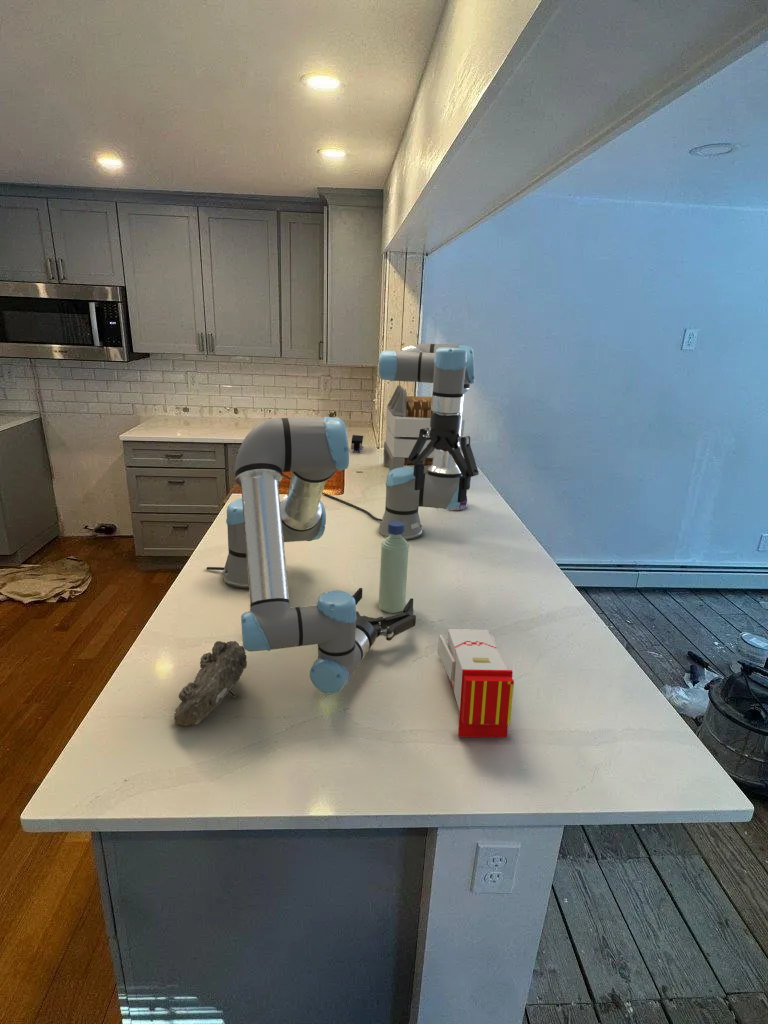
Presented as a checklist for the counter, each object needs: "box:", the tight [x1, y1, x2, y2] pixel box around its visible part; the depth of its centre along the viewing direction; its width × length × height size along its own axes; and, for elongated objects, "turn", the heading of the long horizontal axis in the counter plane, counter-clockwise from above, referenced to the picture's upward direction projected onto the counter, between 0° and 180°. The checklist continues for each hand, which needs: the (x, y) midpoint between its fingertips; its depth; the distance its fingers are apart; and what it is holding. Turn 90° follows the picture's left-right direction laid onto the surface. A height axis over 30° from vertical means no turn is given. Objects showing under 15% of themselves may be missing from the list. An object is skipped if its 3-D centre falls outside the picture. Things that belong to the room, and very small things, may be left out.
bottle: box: [378, 534, 410, 614], centre depth 147 cm, size 7×7×23 cm
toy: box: [437, 628, 515, 738], centre depth 117 cm, size 12×13×30 cm
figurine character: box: [350, 434, 364, 454], centre depth 311 cm, size 7×8×15 cm
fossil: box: [173, 640, 248, 727], centre depth 113 cm, size 22×10×15 cm
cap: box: [388, 521, 404, 535], centre depth 144 cm, size 4×4×2 cm
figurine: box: [449, 475, 468, 511], centre depth 227 cm, size 9×10×15 cm
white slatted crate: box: [383, 384, 465, 472], centre depth 268 cm, size 34×33×41 cm
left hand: (386, 597), depth 143 cm, fingers open, 13 cm apart
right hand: (439, 495), depth 147 cm, fingers open, 13 cm apart
